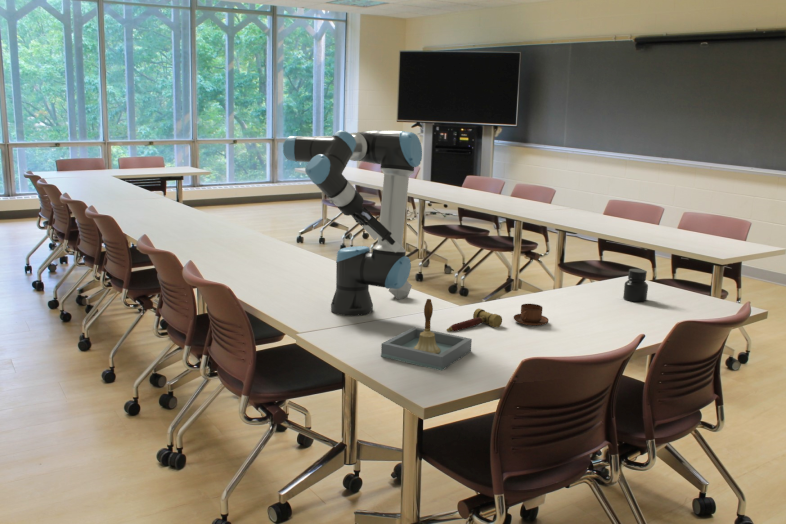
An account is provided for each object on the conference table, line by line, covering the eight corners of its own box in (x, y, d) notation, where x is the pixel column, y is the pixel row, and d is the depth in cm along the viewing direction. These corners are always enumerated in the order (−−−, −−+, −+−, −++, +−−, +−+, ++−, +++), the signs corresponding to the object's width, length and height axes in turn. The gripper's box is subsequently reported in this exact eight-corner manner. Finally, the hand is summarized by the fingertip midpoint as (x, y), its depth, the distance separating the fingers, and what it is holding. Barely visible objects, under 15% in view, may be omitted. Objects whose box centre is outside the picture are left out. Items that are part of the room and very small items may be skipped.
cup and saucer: (545, 330, 240) (547, 313, 239) (510, 325, 244) (511, 308, 243) (550, 321, 252) (551, 304, 250) (516, 316, 255) (517, 300, 254)
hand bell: (408, 347, 215) (410, 297, 211) (432, 345, 218) (435, 295, 215) (420, 356, 207) (422, 304, 204) (445, 353, 210) (447, 302, 207)
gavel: (457, 327, 230) (437, 319, 238) (457, 340, 231) (437, 332, 239) (502, 314, 242) (482, 307, 250) (502, 326, 243) (482, 319, 251)
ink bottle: (637, 296, 289) (641, 267, 287) (651, 302, 281) (655, 272, 279) (617, 297, 286) (620, 268, 284) (631, 303, 278) (634, 273, 275)
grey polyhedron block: (413, 301, 272) (417, 279, 276) (397, 293, 267) (401, 270, 271) (398, 305, 278) (402, 282, 282) (383, 297, 273) (387, 274, 277)
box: (413, 338, 226) (414, 326, 225) (470, 351, 216) (471, 338, 216) (381, 356, 209) (381, 343, 209) (441, 370, 200) (442, 357, 199)
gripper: (321, 197, 219) (361, 240, 231) (355, 218, 198) (398, 264, 210) (337, 180, 220) (377, 223, 231) (373, 198, 199) (415, 245, 211)
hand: (387, 242), depth 221 cm, fingers open, 13 cm apart
